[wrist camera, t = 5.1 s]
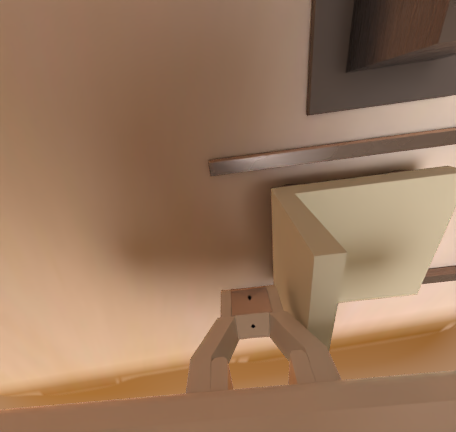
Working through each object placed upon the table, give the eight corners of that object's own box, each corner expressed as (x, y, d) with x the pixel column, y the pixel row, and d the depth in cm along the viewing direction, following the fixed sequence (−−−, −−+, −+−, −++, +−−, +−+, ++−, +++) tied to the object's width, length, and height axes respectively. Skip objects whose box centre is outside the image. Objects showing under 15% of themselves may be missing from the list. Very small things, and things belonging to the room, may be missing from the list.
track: (232, 297, 18) (233, 328, 16) (209, 160, 13) (205, 173, 10) (517, 265, 17) (570, 293, 15) (631, 103, 12) (750, 101, 9)
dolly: (269, 280, 17) (301, 394, 10) (265, 180, 13) (314, 256, 6) (388, 267, 17) (503, 375, 10) (422, 159, 13) (661, 216, 6)
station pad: (306, 115, 12) (309, 115, 11) (318, -110, 8) (322, -121, 8) (449, 95, 11) (457, 94, 11) (529, -148, 8) (545, -161, 7)
